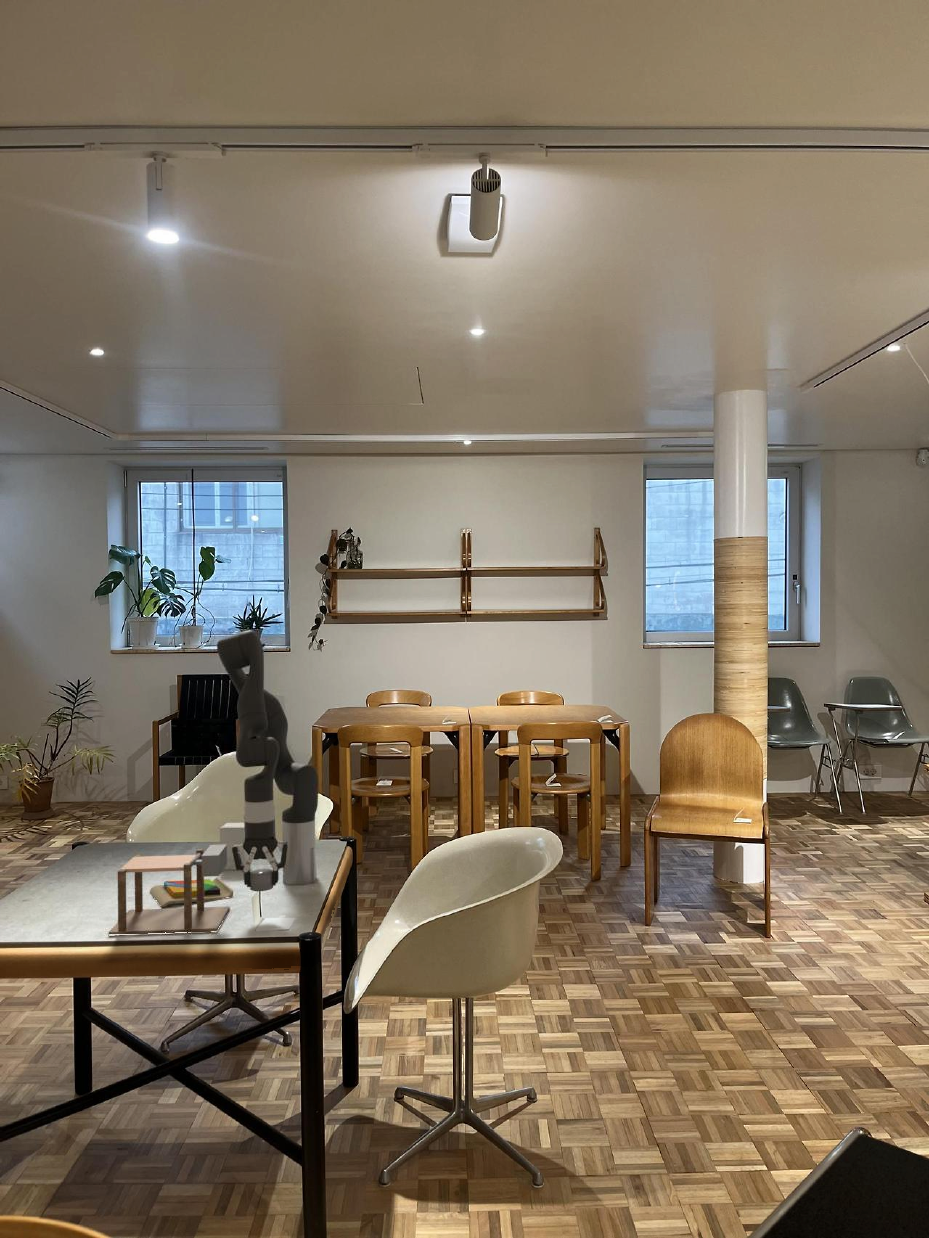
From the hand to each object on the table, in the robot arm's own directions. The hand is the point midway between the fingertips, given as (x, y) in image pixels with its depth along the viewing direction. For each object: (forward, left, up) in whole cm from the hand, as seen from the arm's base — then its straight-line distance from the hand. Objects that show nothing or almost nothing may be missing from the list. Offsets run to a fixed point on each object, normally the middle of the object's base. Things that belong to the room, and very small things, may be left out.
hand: (261, 885), depth 230 cm
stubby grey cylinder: (0, 0, -1) cm, 1 cm away
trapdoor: (+20, +2, +5) cm, 21 cm away
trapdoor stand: (+21, +2, -8) cm, 23 cm away
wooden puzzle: (+22, -22, -9) cm, 32 cm away
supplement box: (+15, -50, -8) cm, 53 cm away
